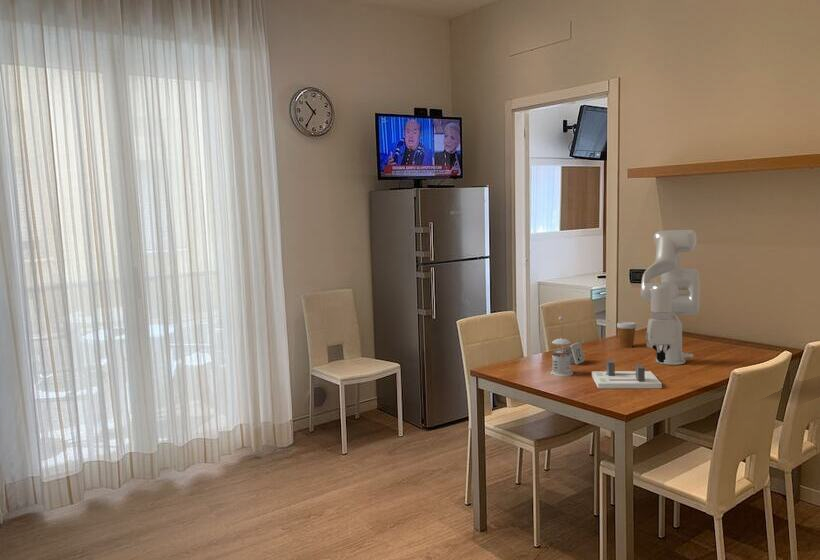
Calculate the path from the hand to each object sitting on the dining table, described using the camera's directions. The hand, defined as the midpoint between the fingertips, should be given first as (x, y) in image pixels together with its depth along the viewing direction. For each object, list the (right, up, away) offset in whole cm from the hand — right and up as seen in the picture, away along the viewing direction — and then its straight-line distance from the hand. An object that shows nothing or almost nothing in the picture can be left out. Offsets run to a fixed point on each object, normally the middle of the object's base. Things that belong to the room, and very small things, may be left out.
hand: (660, 361), depth 253 cm
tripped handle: (-7, -7, +3) cm, 11 cm away
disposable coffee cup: (+11, -2, +72) cm, 73 cm away
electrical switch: (-23, -6, +43) cm, 49 cm away
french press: (-33, -8, +27) cm, 43 cm away
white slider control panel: (-11, -9, +8) cm, 17 cm away
